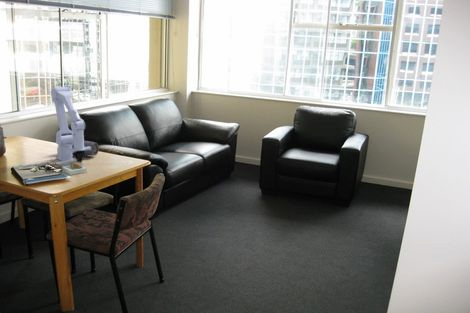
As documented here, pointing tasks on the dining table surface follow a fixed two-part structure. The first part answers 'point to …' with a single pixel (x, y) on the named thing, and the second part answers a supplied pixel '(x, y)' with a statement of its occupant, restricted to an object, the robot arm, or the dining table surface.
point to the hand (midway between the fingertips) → (79, 163)
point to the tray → (71, 171)
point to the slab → (66, 163)
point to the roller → (75, 165)
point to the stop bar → (53, 165)
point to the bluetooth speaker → (93, 146)
